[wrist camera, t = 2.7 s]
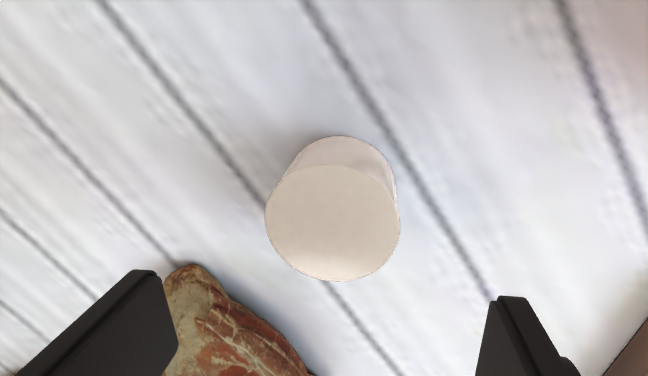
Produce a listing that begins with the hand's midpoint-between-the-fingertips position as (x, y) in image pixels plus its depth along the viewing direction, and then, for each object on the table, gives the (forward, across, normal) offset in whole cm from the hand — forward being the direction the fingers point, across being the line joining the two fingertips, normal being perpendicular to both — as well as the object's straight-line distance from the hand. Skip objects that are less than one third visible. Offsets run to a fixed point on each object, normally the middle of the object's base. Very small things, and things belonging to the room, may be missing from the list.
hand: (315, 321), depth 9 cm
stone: (+8, +7, +11) cm, 15 cm away
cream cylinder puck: (+7, 0, -1) cm, 7 cm away
